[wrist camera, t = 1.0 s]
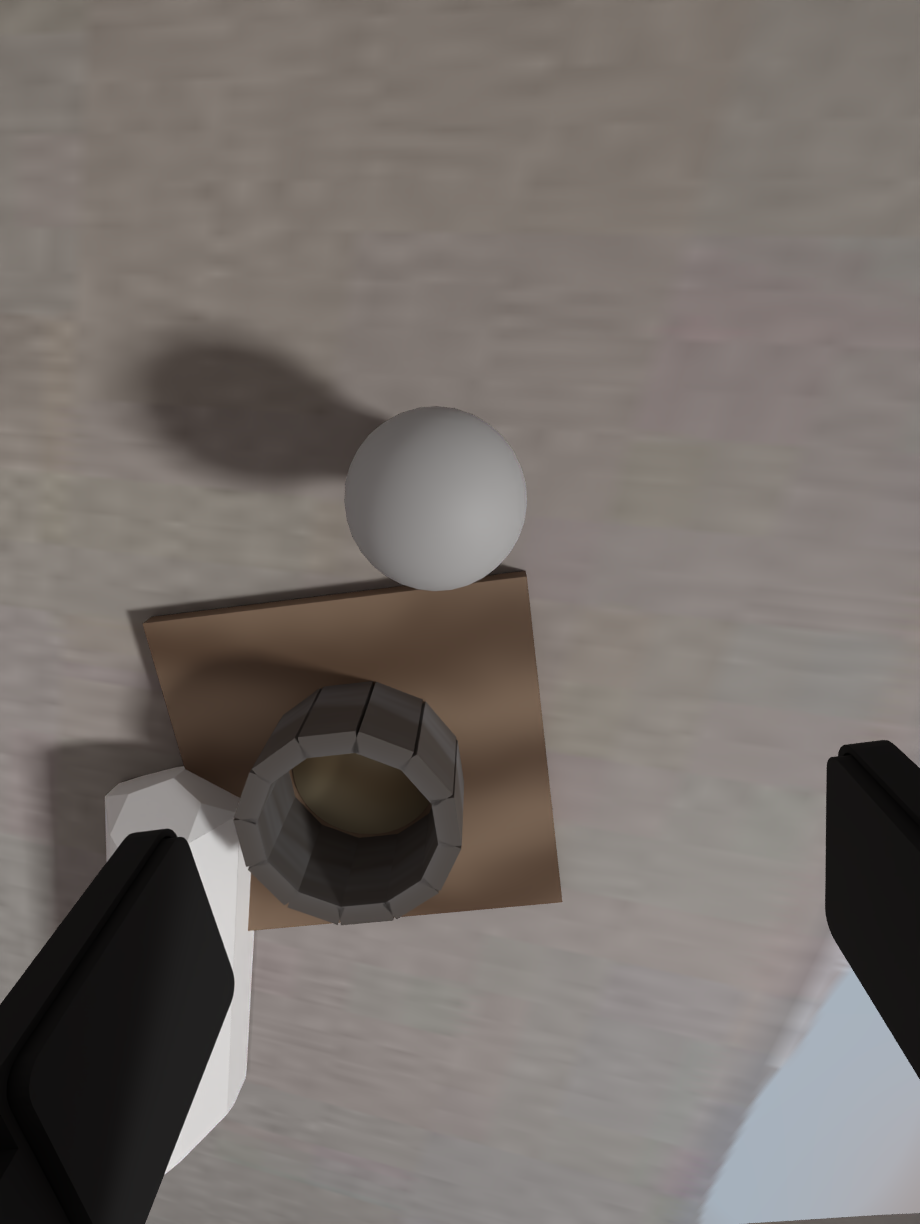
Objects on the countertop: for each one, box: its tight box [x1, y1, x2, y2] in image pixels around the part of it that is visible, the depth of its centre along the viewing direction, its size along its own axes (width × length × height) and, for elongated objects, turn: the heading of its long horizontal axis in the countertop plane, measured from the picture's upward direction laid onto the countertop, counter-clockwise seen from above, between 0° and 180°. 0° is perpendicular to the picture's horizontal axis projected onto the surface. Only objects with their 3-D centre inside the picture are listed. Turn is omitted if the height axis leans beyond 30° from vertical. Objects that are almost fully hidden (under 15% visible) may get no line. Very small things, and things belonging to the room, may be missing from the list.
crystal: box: [105, 766, 254, 1174], centre depth 38 cm, size 7×7×24 cm
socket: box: [143, 571, 562, 931], centre depth 33 cm, size 18×18×6 cm
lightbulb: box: [344, 406, 527, 591], centre depth 26 cm, size 6×6×11 cm
